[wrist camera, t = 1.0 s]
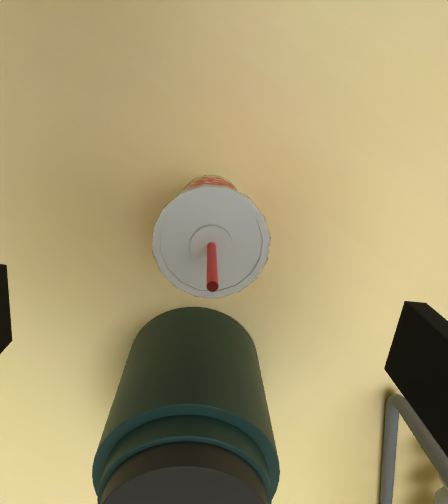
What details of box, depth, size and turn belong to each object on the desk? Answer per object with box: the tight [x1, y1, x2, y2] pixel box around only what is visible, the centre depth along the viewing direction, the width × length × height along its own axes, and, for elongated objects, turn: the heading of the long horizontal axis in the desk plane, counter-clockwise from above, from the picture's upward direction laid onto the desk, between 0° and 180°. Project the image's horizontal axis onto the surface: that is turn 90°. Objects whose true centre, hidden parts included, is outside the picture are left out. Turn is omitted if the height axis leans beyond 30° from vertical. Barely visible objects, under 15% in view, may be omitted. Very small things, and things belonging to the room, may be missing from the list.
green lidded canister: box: [92, 307, 280, 504], centre depth 26 cm, size 11×11×14 cm
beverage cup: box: [153, 175, 270, 298], centre depth 21 cm, size 6×6×14 cm
